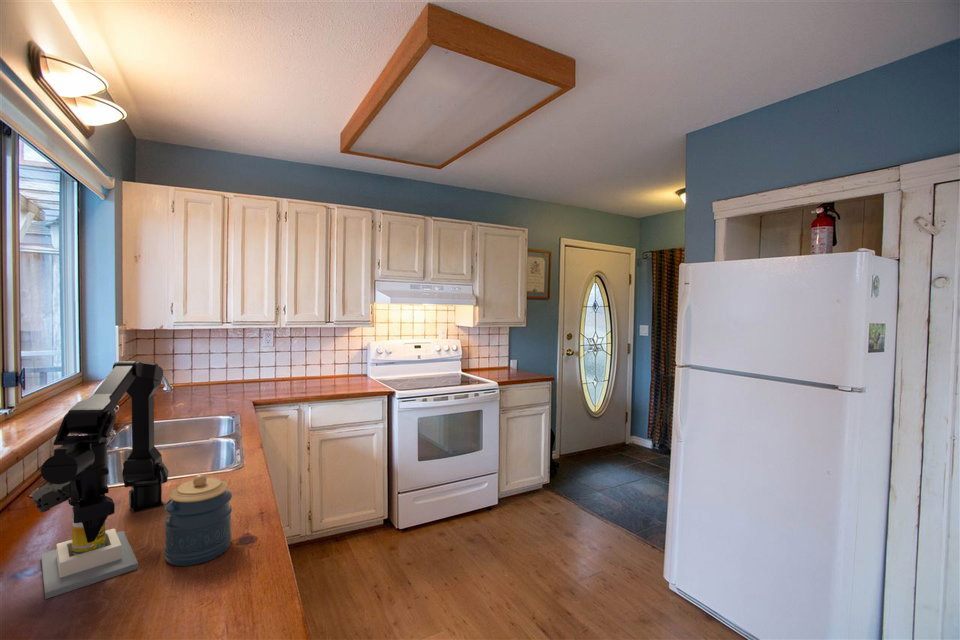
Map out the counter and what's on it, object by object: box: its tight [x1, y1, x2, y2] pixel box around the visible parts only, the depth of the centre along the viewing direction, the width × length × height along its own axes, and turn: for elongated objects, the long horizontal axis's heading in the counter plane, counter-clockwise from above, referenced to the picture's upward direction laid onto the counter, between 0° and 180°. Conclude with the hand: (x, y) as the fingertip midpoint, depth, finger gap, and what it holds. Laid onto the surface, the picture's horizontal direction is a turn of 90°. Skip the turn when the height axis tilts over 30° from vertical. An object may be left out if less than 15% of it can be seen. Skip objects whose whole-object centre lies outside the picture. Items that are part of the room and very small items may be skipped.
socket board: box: [40, 528, 139, 600], centre depth 94 cm, size 14×18×4 cm
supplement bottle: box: [71, 521, 106, 555], centre depth 94 cm, size 5×5×10 cm
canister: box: [163, 474, 233, 567], centre depth 100 cm, size 13×13×18 cm
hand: (89, 536), depth 94 cm, fingers closed on supplement bottle, 5 cm apart
